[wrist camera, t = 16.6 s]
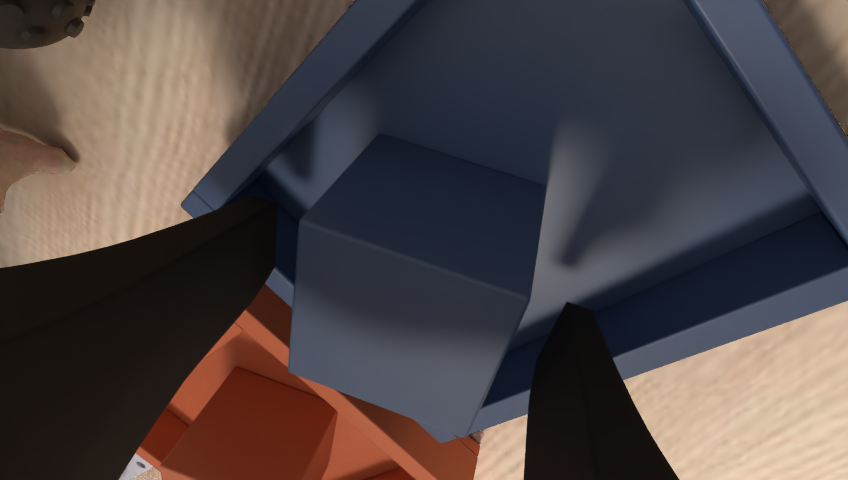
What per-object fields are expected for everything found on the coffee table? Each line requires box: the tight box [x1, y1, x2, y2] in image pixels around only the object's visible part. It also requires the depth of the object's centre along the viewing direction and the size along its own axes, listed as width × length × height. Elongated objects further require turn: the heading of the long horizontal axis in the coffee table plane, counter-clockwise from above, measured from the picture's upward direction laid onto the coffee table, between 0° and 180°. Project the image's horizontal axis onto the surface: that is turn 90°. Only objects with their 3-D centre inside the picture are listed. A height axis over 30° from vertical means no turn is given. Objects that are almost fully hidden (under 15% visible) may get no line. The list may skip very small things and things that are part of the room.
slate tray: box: [181, 0, 848, 443], centre depth 12 cm, size 13×11×2 cm
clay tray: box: [136, 284, 480, 480], centre depth 21 cm, size 13×11×2 cm
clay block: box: [160, 367, 338, 480], centre depth 19 cm, size 4×4×4 cm
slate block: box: [288, 134, 546, 438], centre depth 12 cm, size 4×4×4 cm
